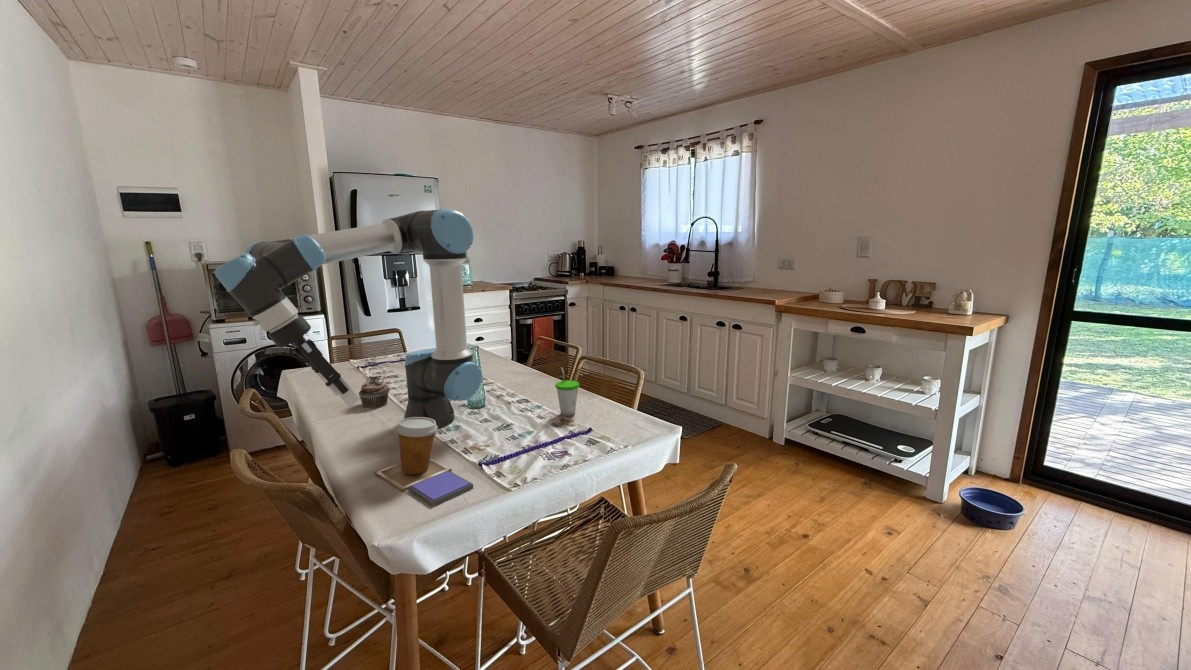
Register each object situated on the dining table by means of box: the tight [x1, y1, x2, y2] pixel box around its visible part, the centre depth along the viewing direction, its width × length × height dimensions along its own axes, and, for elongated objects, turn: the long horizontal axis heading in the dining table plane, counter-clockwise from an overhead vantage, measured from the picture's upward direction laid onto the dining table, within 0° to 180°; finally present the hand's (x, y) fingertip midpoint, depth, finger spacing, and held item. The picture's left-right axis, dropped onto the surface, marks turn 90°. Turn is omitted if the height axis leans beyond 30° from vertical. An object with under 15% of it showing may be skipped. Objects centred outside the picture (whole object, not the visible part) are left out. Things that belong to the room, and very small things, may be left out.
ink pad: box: [408, 471, 474, 507], centre depth 113 cm, size 10×10×1 cm
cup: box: [554, 366, 580, 417], centre depth 159 cm, size 8×8×15 cm
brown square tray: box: [374, 457, 453, 493], centre depth 121 cm, size 13×13×1 cm
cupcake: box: [358, 375, 390, 410], centre depth 170 cm, size 10×10×10 cm
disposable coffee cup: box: [395, 417, 439, 474], centre depth 121 cm, size 10×10×12 cm
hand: (347, 397), depth 113 cm, fingers open, 13 cm apart
